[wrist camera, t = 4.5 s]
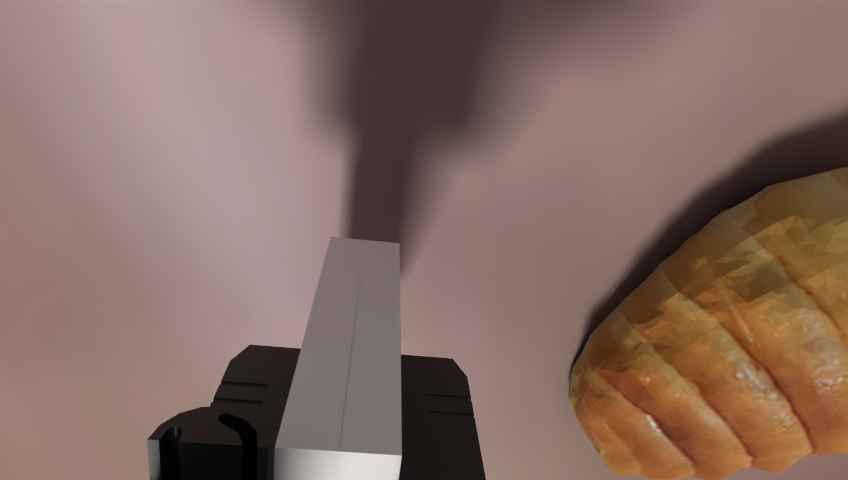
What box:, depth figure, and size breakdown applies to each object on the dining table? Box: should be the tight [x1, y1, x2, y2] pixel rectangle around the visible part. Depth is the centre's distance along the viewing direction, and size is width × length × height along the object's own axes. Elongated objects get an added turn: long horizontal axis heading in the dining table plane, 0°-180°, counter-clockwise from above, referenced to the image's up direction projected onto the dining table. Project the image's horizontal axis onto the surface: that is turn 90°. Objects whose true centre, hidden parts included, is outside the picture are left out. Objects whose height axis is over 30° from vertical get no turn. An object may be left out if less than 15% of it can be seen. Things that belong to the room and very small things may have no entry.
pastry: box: [568, 167, 848, 480], centre depth 15 cm, size 9×7×4 cm
